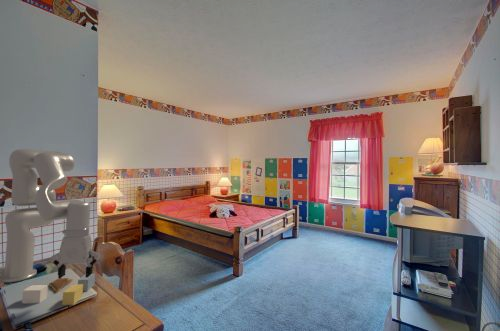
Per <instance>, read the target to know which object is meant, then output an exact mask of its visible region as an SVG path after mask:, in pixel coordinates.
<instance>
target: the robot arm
mask: <svg viewBox="0 0 500 331" xmlns="http://www.w3.org/2000/svg"><path fill="white" fill-rule="evenodd" d="M8 164H9V168H10V171H11V176H12V183H11V203H12V205H14V206H18V207H23V206H24V207H25V206H36V207H27V208H18V209H15V210H12V211H9V212H8V213H7V214H5V217H4V219H5V220H4V221H5V222H4V223H5V228H6V245H5V246H6V248H5V259H4V266H0V274H1V275H0V283H15V282H19V281H24V280H27V279H30V278H33V277H34V276H35V275H37V273H38V272H37V271H38V270H37V269H36V268H34V256H35V255H34V253H35V241H36V237H35V234H34V233H33V232H32V231H30V229H33V228H38V227H44V226H48V225H49V226H50V225H51V224H53V222H54V221H58V220H59V221H60V220H65V219H66V222H65V230H64V229H63V230H62V233H61V234H64V236H63V237H62V240H61V243H60V245H59V246H60V247H59V252H57V253H55V254H53V255H51V257H50V258H51V261H52V262H53V264H54V266H56V269H57V276H58V277H57V279H58V278H63V277H65V275H66V270H67V268H66V265H73V264H76V265H77V264H85V265H86V267H85V274H86V277H89V276H90V275H91V274H93V270H94V269H93V268H94V267H93V266H94V265H95V263H97V262H98V260H99V259H100V257H101V254H100V253H99V252H97V251H94V250H93V244H92V238H91V237H92V236H91V235H90V234H89V233H90V213H91V204H90V202H88V201H81V200H80V199H65V200H64V199H63V200H62V199H61V200H56V199H57V193H56V190H57V189H60V188H61V187H63V186H65V184H67V183H68V177H67V175H66V173H65V172H70V171H71V170H73V169H74V168H75V159H74V158H73V156H72V155H70V154H69V153H64V152H60V151H55V150H54V151H53V150H43V149H41V150H40V149H31V148H29V149H27V148H26V149H25V148H22V149H21V148H20V149H15V150H14V151H12V152H11V153H10V155H9V158H8ZM34 169H36V171H35V170H34ZM36 172H37V173H36ZM38 177H39V178H40V179H39V178H38ZM38 180H40V182H41V183H42V184H38ZM92 257H94V258H93V259H92Z"/></svg>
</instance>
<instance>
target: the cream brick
mask: <svg viewBox="0 0 500 331" xmlns="http://www.w3.org/2000/svg"><path fill="white" fill-rule="evenodd" d="M48 289H49V284H38V285H37V284H35V285H33V284H31V285H29V286H28V287H26V288H24V289H23V290H22V299H21V300H22V301H21V303H22V304H41V303H42V302H43V301H44V300H46V299H47V298H48Z"/></svg>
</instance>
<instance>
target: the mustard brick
mask: <svg viewBox="0 0 500 331" xmlns="http://www.w3.org/2000/svg"><path fill="white" fill-rule="evenodd" d="M83 292H84V291H83V284H78V283H77V284H71V285H70V286H69V287H68V288H66V289H65V290H64V291H63V292H62V300H61V301H62V302H61V304H62V306H72V305H73V306H74V305H76V303H77V302H78V301H79V300H80V299H82V297H83Z"/></svg>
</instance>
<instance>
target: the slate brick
mask: <svg viewBox="0 0 500 331" xmlns="http://www.w3.org/2000/svg"><path fill="white" fill-rule="evenodd" d="M95 282H96V273H92V274H91V275H90V276H89V277H86V273H84V275H82V276H81V277H80V278H79V279H78V280H77V284H83V292H88V291H89V290H91V289H92V288H93V287H94V286H95Z"/></svg>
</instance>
